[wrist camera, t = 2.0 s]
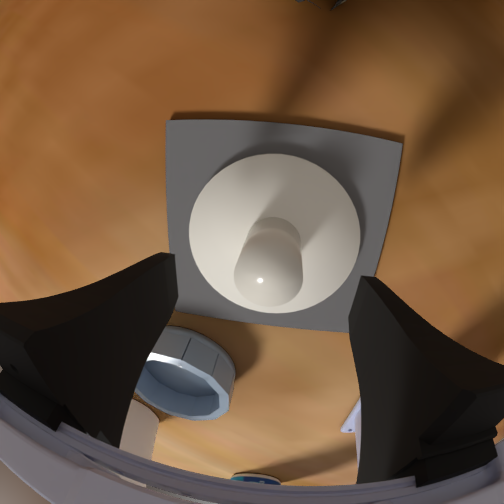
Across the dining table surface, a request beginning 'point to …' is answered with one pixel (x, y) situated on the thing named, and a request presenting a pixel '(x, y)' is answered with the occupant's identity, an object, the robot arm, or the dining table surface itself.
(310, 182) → the lid
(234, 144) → the mat
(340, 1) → the foil
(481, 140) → the dining table surface
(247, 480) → the beverage bottle
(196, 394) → the bowl
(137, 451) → the cup
